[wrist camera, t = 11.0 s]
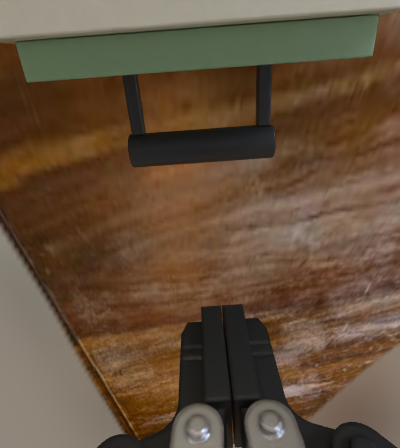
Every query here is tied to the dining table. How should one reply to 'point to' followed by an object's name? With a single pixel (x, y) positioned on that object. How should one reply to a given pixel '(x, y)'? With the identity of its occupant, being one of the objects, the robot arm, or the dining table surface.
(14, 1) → the small bedside cabinet
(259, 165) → the dining table surface
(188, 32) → the drawer
